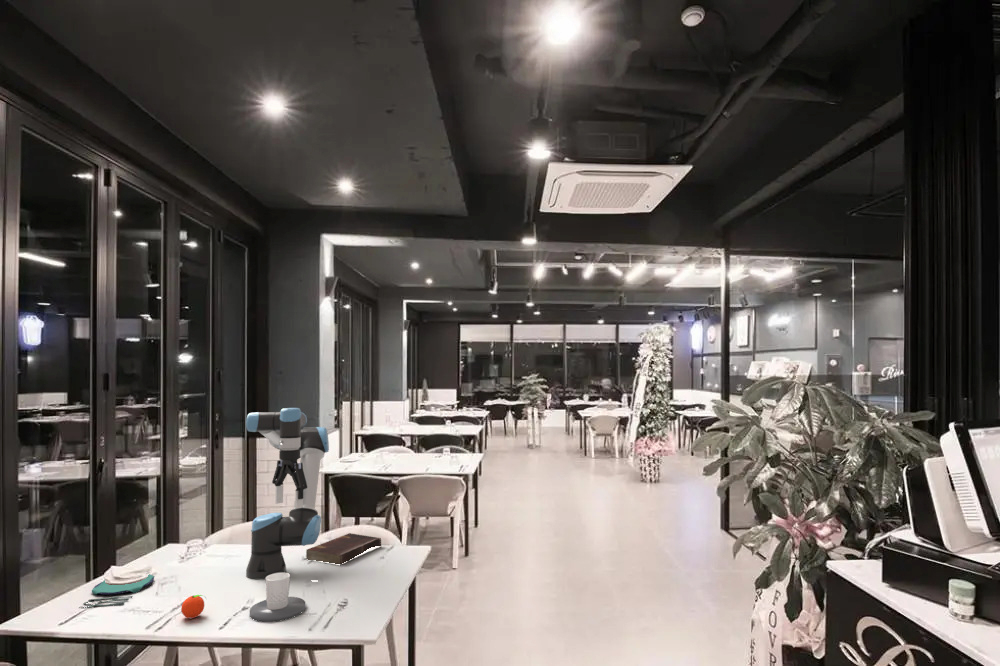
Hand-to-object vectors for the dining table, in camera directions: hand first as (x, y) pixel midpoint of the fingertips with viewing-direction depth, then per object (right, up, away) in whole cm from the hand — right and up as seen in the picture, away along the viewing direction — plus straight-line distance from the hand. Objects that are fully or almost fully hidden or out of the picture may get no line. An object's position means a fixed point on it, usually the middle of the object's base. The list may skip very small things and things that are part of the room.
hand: (288, 505), depth 220 cm
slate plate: (+4, -30, -20) cm, 37 cm away
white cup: (+3, -29, -20) cm, 35 cm away
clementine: (-23, -30, -25) cm, 45 cm away
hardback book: (+9, -36, +44) cm, 57 cm away
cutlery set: (-64, -33, -1) cm, 72 cm away
